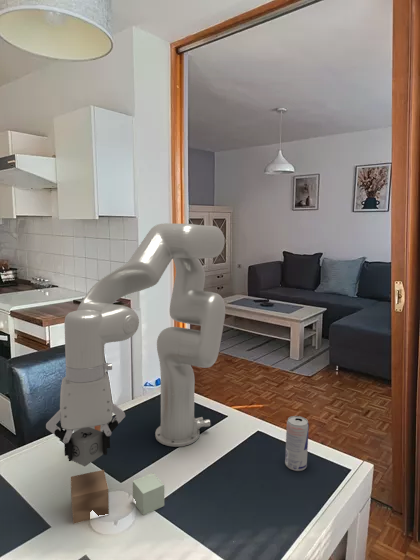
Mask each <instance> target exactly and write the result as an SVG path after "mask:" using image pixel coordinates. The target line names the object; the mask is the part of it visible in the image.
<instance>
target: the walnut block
mask: <svg viewBox="0 0 420 560" xmlns="http://www.w3.org/2000/svg"><path fill="white" fill-rule="evenodd" d="M70 496H71V497H70V498H71V499H70V501H71V511H72V513H71V514H72V523H73V525H75V524H79V523H83V522H87V521H90V512H91V511H92V510H93V511H94V512H95V513H96V514H97V515H98V516H99V515H105V514H109V515H110V508H109V507H110V505H109V503H110V502H109V501H110V500H109V485H108V482H107V477H106V472H105V470H104V469H101V470H96V471H92V472H91V471H90V472H87V473H82V474H81V473H80V474H77V475H76V474H75V475H72V476H70Z"/></svg>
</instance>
